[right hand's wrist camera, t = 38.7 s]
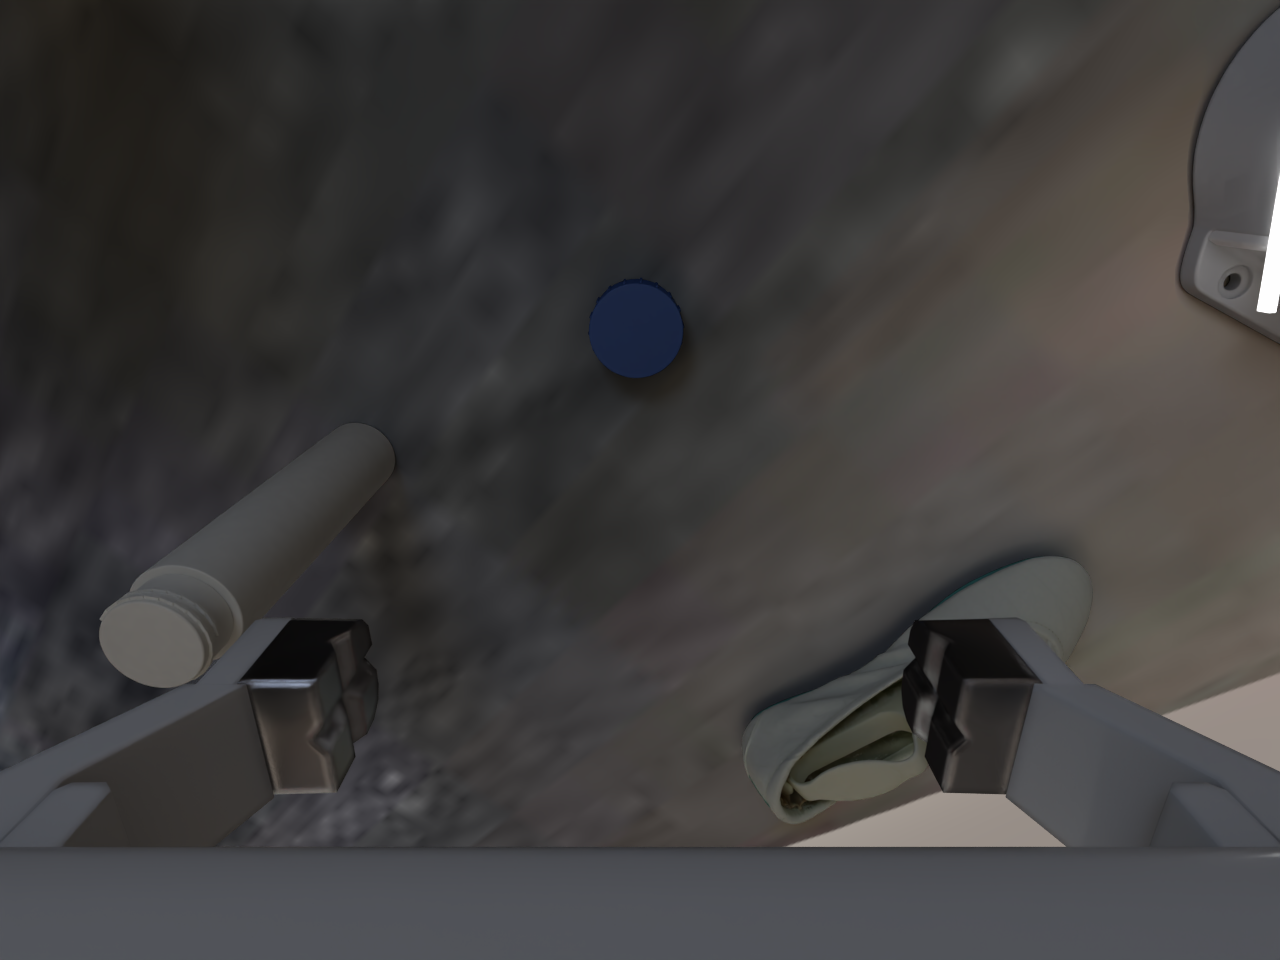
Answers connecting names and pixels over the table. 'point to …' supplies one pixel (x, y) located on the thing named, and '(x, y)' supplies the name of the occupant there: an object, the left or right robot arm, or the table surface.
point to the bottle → (242, 561)
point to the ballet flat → (895, 697)
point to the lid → (636, 328)
